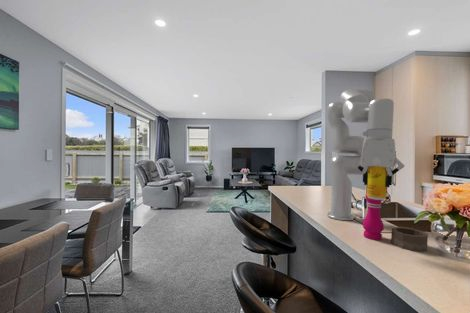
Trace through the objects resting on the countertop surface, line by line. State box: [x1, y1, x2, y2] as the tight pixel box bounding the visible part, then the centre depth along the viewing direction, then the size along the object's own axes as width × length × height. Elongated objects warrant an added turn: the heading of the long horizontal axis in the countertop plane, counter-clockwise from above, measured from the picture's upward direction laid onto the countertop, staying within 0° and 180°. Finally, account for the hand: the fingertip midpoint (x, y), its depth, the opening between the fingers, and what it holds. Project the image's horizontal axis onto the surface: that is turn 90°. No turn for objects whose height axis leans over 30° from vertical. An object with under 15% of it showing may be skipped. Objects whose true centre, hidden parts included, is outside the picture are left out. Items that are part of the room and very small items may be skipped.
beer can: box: [365, 158, 388, 201], centre depth 85 cm, size 6×6×15 cm
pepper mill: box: [362, 194, 384, 241], centre depth 94 cm, size 7×7×20 cm
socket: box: [390, 226, 429, 252], centre depth 87 cm, size 10×10×5 cm
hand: (376, 185), depth 85 cm, fingers closed on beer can, 6 cm apart
